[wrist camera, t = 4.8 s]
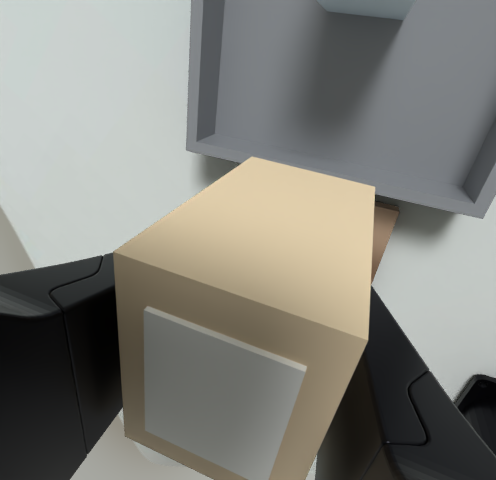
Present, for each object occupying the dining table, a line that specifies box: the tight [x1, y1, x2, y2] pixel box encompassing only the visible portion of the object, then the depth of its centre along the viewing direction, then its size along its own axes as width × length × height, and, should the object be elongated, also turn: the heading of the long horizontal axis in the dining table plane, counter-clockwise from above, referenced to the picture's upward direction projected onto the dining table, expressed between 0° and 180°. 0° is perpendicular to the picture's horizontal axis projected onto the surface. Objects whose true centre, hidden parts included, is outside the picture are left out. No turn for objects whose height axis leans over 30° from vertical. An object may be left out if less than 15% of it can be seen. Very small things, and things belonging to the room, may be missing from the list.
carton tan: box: [113, 157, 375, 480], centre depth 8 cm, size 4×4×6 cm
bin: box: [186, 0, 496, 219], centre depth 15 cm, size 13×15×3 cm
